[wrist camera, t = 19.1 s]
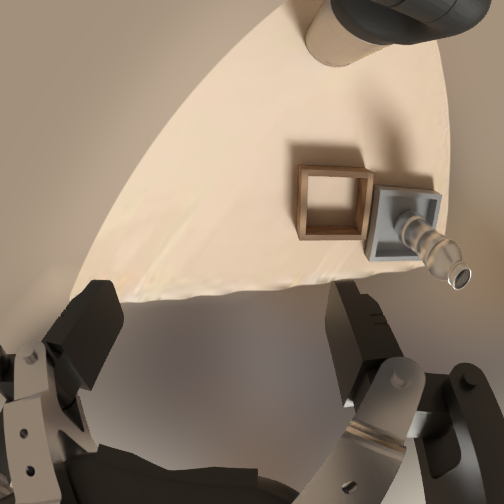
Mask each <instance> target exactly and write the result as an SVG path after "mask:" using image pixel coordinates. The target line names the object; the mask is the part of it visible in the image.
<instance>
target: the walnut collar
mask: <svg viewBox="0 0 504 504" xmlns="http://www.w3.org/2000/svg"><path fill="white" fill-rule="evenodd" d="M308 176H329V177H351V178H359V189H358V200H357V209H356V218H355V226H306V217H307V195H308ZM373 179H374V173H373V172H371V171H370V170H368V169H366V168H357V167H341V166H318V165H298V202H297V229H296V231H297V234H298V238H299V240H366V235H367V229H368V222H369V214H370V206H371V198H372V189H373Z"/></svg>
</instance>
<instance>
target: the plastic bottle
mask: <svg viewBox="0 0 504 504" xmlns="http://www.w3.org/2000/svg"><path fill="white" fill-rule="evenodd" d="M395 233H396V236H397V237H398V239H399V241H400V242H401V243H403V244H404V245H406V246H407V247H409V248H411V249H412V250H413V251H414V252H415V253H416V254H417V255H418V256H419V257H420V259H421V260H422V261H423V263H424V264H425V266H426V268H427V269H428V271H429V272H430V274H431V275H432V276H433V277H434V278H436V279H439V280H447V281H448V283H449V284H450V285H452V286H453V288H454V289H456V290H460V289H462V288H464V287H465V286H466V285H467V283H468V282H469V280H470V278H471V270H470V268H469V267H468V266H467V265H466V263H465V262H464V261H462V253H461V250H460V247H459V246H458V244H457V243H456V242H455V241H453V240H452V239H450V238H448V237H446V236H444V235H442V234H440V233H439V232H438V231H436V230H435V229H433V228H432V227H431V225H430V224H429V223H428V222H427V221H426V220H425V218H424V217H423V216H422V215H421V214H420V213H418V212H415V211H411V210H410V211H406V212H404V213H402V214H401V215H400V216H399V217H398V219H397V221H396V225H395Z"/></svg>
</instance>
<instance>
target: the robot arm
mask: <svg viewBox="0 0 504 504" xmlns="http://www.w3.org/2000/svg"><path fill="white" fill-rule="evenodd" d="M490 4H491V0H325V1H324V2H323V4H322V5H321V7H320V9H319V10H318V12H317V13H316V15H315V17H314V18H313V22H312V24H311V25H310V27H309V29H308V30H307V32H306V36H305V42H306V46H307V48H308V50H309V52H310V53H311V55H312V56H313V57H314V58H315V59H316V60H318V61H319V62H321V63H322V64H325V65H327V66H331V67H343V66H347V65H349V64H351V63H353V62H355V61H357V60H359V59H361V58H364V57H366V56H368V55H370V54H372V53H374V52H376V51H378V50H381V49H383V48H385V47H387V46H389V45H392V44H400V45H413V44H417V43H422V42H426V41H431V40H436V39H441V38H446V37H450V36H454V35H458V34H461V33H463V32H465V31H467V30H469V29H471V28H473V27H474V26H476V25H477V24H478V23H479V22H480V21H481V20H482V19H483V18H484V17H485V15H486V14H487V12H488V10H489V8H490ZM123 322H124V315H123V311H122V308H121V305H120V303H119V300H118V297H117V294H116V291H115V288H114V285H113V283H112V282H111V281H110V280H92V281H91V282H90V283H89V284H88V285H87V286H86V288H85V289H84V290H83V291H82V292H81V293H80V294H79V295H77V296H76V297H75V298H73V299H72V300H71V302H70V303H69V304H68V305H67V307H66V310H64V311H63V312H62V313H61V316H60V317H58V319H57V320H56V321H55V323H54V324H53V326H52V327H51V328H50V330H49V331H48V332H47V334H46V335H45V337H44V338H43V340H42V341H41V342H40V341H31V342H28V343H26V344H25V345H23V346H22V347H21V348H20V349H19V351H18V352H17V354H9V355H7V354H6V353H5V351H4V350H3V348H2V347H1V345H0V393H1V394H2V395H3V396H4V397H5V398H6V402H5V404H4V406H3V409H2V411H1V413H0V504H380V503H381V502H382V500H383V498H384V496H385V495H386V493H387V491H388V489H389V487H390V485H391V483H392V482H393V480H394V478H395V476H396V474H397V472H398V470H399V467H400V465H401V463H402V461H403V458H404V456H405V453H406V446H404V442H405V439H406V437H414V441H415V446H416V450H417V455H418V460H419V464H420V470H421V475H422V481H423V487H424V493H425V500H426V504H504V417H503V415H502V412H501V410H500V407H499V405H498V403H497V400H496V398H495V396H494V394H493V391H492V389H491V387H490V385H489V383H488V381H487V379H486V377H485V375H484V373H483V372H482V371H481V370H480V369H479V368H478V367H477V366H475V365H473V364H470V363H460V364H458V365H456V366H455V367H454V368H453V369H452V371H451V373H450V374H449V375H446V374H432V373H425V372H424V371H423V369H422V368H421V367H420V365H419V364H418V363H416V362H415V361H413V360H411V359H409V358H406V357H404V356H403V353H402V351H401V349H400V347H399V345H398V343H397V341H396V338H395V336H394V334H393V332H392V330H391V328H390V326H389V324H387V320H386V318H385V316H384V315H383V312H382V310H381V308H380V306H379V304H378V303H377V302H376V301H375V300H374V299H373V298H372V297H370V296H369V295H368V294H360V292H359V290H358V288H357V286H356V284H355V282H354V281H353V280H347V281H332V282H331V285H330V292H329V297H328V303H327V309H326V315H325V330H326V335H327V339H328V343H329V347H330V351H331V355H332V359H333V363H334V368H335V372H336V376H337V381H338V385H339V389H340V394H341V399H342V404H343V407H349V406H354V408H355V412H356V414H355V415H354V417H353V419H352V421H351V423H350V424H349V425H348V427H347V429H346V430H345V432H344V433H343V435H342V437H341V438H340V440H339V441H338V443H337V444H336V446H335V447H334V449H333V451H332V452H331V453H330V455H329V456H328V458H327V459H326V460H325V462H324V463H323V465H322V466H321V467H320V469H319V470H318V471H317V473H316V474H315V476H314V477H313V478H312V480H311V481H310V482H309V483H308V485H307V486H306V487H305V488H304V489H303V491H302V492H301V493H299V492H297V491H296V490H294V489H293V488H290V487H289V486H287V485H285V484H283V483H280V482H278V481H275V480H271V479H269V478H265V477H261V476H258V469H247V468H246V469H245V468H224V467H208V468H199V469H188V470H174V471H173V470H167V469H164V468H162V467H160V466H157V465H155V464H153V463H151V462H149V461H147V460H145V459H143V458H140V457H138V456H137V455H135V454H133V453H129V452H126V451H122V450H118V449H115V448H111V447H108V446H105V445H102V444H99V447H97V445H96V444H95V442H94V440H93V439H92V436H91V434H90V430H89V427H88V424H87V421H86V417H85V414H84V410H83V406H82V403H81V398H80V396H79V394H78V393H77V392H78V390H79V388H82V389H86V390H90V391H91V390H92V388H93V386H94V383H95V381H96V379H97V377H98V375H99V373H100V371H101V368H102V366H103V364H104V362H105V360H106V358H107V356H108V354H109V352H110V350H111V348H112V346H113V344H114V342H115V340H116V338H117V336H118V334H119V332H120V330H121V329H122V327H123ZM11 481H12V486H13V488H12V487H10V483H11Z"/></svg>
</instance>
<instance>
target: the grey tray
mask: <svg viewBox="0 0 504 504" xmlns="http://www.w3.org/2000/svg"><path fill="white" fill-rule="evenodd" d="M441 198H442V195H441V194H439V193H438V192H436V191H434V190H426V189H416V188H406V187H394V186H380V185H374V190H373V199H372V208H371V215H370V222H369V229H368V236H367V242H366V248H365V256H366V257H367V259H368V261H369V262H383V261H417V260H421V259H420V257H419V256H418V255H417V254H416V253H415V252H414V251H413V250H412V249H411V248H409V247H407V246H406V245H404V244H403V243H401V242H400V241H399V239H398V237H397V236H396V233H395V225H396V221H397V219H398V217H399V216H400V215H401V214H402V213H404V212H406V211H410V210H411V211H415V212H418V213H420V214H421V215H422V216H423V217H424V218H425V220H426V221H427V222H428V223H429V224H430V225H431V227H432V228H433V229H435V228H436V224H437V219H438V214H439V209H440V204H441Z"/></svg>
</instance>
